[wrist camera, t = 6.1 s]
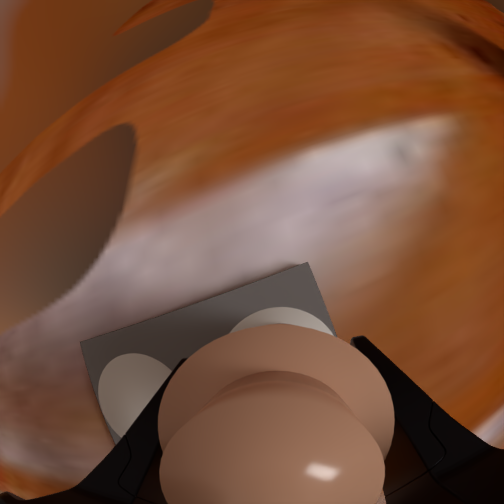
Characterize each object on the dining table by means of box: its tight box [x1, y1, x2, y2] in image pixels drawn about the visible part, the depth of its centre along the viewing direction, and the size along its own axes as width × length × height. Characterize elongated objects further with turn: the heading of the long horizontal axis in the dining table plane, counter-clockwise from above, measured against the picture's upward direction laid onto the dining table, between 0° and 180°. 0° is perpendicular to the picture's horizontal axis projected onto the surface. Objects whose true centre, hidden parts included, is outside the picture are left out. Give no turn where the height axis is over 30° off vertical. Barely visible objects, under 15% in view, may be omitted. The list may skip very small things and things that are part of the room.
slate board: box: [80, 262, 337, 444], centre depth 15 cm, size 16×10×1 cm, turn 110°
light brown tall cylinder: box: [158, 323, 395, 504], centre depth 8 cm, size 5×5×12 cm
